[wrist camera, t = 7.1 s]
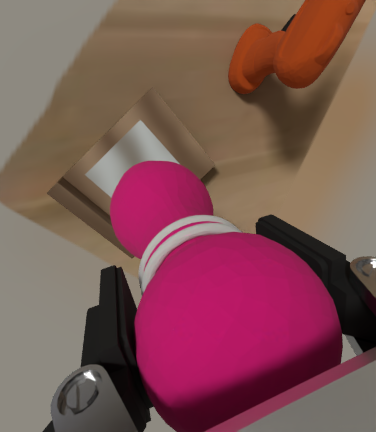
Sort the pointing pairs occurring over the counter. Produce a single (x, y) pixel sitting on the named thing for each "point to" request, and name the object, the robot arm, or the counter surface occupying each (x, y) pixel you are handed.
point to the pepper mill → (216, 303)
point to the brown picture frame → (127, 161)
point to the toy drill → (293, 46)
